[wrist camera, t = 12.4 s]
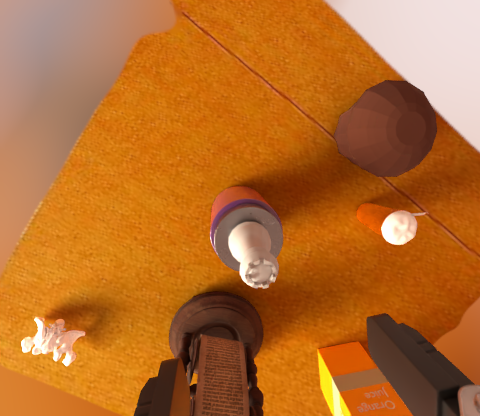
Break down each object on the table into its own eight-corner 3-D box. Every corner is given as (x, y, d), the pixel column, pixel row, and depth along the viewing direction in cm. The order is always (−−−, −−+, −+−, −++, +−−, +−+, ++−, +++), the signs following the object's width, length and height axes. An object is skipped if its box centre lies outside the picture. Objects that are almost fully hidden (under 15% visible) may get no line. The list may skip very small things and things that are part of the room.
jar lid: (208, 209, 30) (207, 213, 28) (274, 196, 30) (278, 200, 28) (221, 270, 31) (221, 278, 30) (283, 258, 32) (287, 265, 30)
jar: (206, 191, 39) (202, 209, 28) (262, 181, 40) (280, 194, 29) (217, 244, 41) (217, 280, 30) (270, 233, 42) (290, 265, 31)
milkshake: (388, 206, 43) (439, 224, 33) (365, 231, 43) (408, 257, 34) (369, 188, 42) (416, 201, 32) (345, 214, 42) (384, 235, 33)
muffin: (413, 140, 41) (475, 139, 31) (354, 187, 41) (396, 200, 32) (372, 73, 38) (426, 48, 28) (310, 124, 39) (341, 117, 29)
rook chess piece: (244, 212, 28) (255, 237, 20) (277, 234, 29) (300, 267, 21) (219, 245, 29) (221, 282, 21) (253, 266, 30) (266, 309, 22)
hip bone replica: (9, 359, 39) (20, 324, 37) (30, 337, 43) (41, 304, 41) (65, 376, 40) (78, 343, 38) (80, 353, 44) (93, 322, 42)
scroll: (271, 296, 44) (314, 413, 25) (247, 370, 47) (270, 526, 28) (182, 278, 42) (154, 392, 23) (163, 357, 45) (124, 517, 26)
